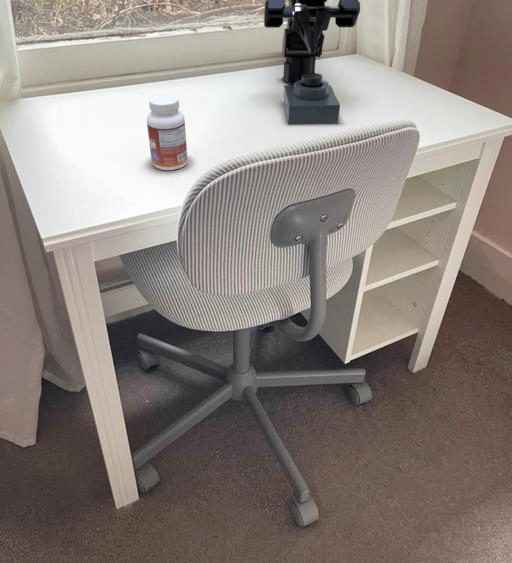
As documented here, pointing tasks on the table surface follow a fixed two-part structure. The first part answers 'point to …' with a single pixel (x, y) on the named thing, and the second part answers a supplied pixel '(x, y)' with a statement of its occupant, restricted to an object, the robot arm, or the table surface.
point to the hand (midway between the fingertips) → (312, 52)
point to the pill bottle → (166, 133)
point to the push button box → (311, 104)
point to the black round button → (312, 80)
